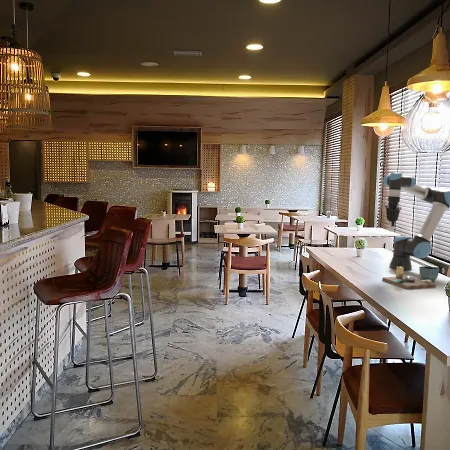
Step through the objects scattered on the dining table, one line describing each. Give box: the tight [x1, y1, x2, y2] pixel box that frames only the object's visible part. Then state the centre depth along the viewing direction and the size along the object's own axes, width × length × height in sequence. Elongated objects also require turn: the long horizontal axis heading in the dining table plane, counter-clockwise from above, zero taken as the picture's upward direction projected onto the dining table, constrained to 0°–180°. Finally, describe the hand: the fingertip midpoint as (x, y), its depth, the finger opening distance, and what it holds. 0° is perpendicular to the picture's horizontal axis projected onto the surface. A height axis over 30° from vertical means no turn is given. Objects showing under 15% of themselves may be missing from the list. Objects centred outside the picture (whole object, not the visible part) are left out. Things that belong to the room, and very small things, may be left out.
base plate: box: [381, 276, 437, 290], centre depth 295 cm, size 22×22×4 cm
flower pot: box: [418, 265, 440, 283], centre depth 305 cm, size 9×9×9 cm
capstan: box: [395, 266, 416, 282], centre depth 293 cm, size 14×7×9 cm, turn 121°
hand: (391, 231), depth 318 cm, fingers closed
